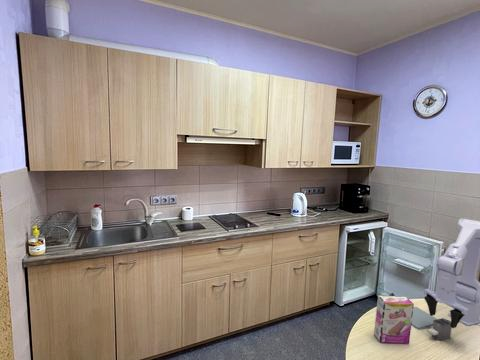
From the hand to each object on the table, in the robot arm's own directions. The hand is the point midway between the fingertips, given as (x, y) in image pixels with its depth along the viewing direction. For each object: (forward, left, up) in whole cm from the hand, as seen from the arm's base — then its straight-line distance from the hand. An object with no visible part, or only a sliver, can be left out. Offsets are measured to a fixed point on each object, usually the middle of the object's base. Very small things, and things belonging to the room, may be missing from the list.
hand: (442, 320), depth 98 cm
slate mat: (-2, -11, -7) cm, 13 cm away
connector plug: (+1, 0, -7) cm, 7 cm away
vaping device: (+12, -14, -7) cm, 20 cm away
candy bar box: (+21, -4, -7) cm, 22 cm away
